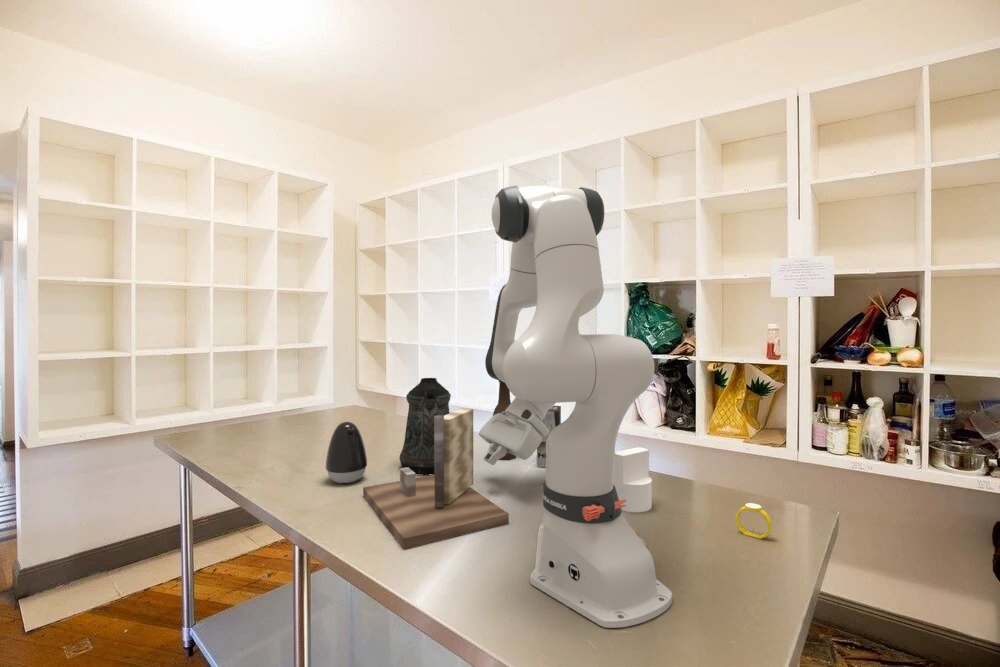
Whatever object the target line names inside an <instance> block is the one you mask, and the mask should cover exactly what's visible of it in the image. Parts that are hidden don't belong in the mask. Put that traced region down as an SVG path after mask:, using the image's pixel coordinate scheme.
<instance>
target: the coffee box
mask: <svg viewBox="0 0 1000 667" xmlns="http://www.w3.org/2000/svg"><path fill="white" fill-rule="evenodd" d="M561 416H562V406H561V405H554V406H553V407H552V408H550V409H549V410H548V411H547V413H546V415H545V418H544V419H543V421H542V422H543V424H544V425H545V426H546V427H547V428H548V430H549V433H548V435H547V436H546V437H542V441H541V443H540V445H539V446H538V448H537V449H536V467H537V468H546V441H547V438H548V436H549V434H550V432H551V431H552V430H553V429H554V428H555V427H556V426H558V425H559V424H561V423H562V417H561Z"/></svg>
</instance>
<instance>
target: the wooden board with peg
mask: <svg viewBox="0 0 1000 667" xmlns="http://www.w3.org/2000/svg"><path fill="white" fill-rule="evenodd" d="M416 476H417V475H416V473H415V472H413V471H412V470H411V469H410V468H408V467H407V468H402V467H401V468H399V480H396V481H391V482H385V483H379V484H375V485H369V486H368V485H367V486H363V487H362V488H363V489H362V493H363V494H362V496H363V495H364V496H363V497H364V499H365V498H366V499H365V500H366V501H367V502H369V503H368V504H369V505H370V507H371V506H372V507H373V508H372V507H371V508H372V509H373V511H374V510H375V511H374V512H375V513H376V515H377V514H378V515H377V516H378V517H379V519H380V520H381V521H382V522H383V524H384V525H385V526H386V527H388V528H387V529H388V530H389V531H390V533H391V535H393V537H394V538H395V539H396V541H397V542H398V543H399V545H400V546H401V547H402V549H403V550H407V549H412V548H417V547H419V546H423V545H422V544H424V545H428V544H431V543H430V542H432V543H435V541H436V542H439V540H440V541H443V540H442V539H444V540H447V539H446V538H448V539H451V538H450V537H452V538H454V537H453V536H456V537H459V536H458V535H460V536H463V535H462V534H464V535H466V534H465V533H468V534H471V533H470V532H472V533H475V532H474V531H476V532H479V531H478V530H480V531H483V530H482V529H484V530H487V529H486V528H488V529H492V528H496V527H500V526H503V525H508V524H509V522H510V517H509V513H508V512H507V511H506V510H504V509H503V508H501V507H500V506H498V505H497V504H495V503H494V502H492V501H491V500H490V499H488V498H487V497H486V496H484V495H482V494H481V493H479V491H476V489H474V488H473V487H472V486H471V487H470V488H468V489H467V490H466V491H465V492H463V493H462V494H461V495H460V496H459V497H457V498H456V499H455V500H454V501H453V502H451V503H450V504H444V507H442V508H436V507H435V475H425V476H421V477H416ZM491 527H492V528H491ZM427 543H428V544H427Z"/></svg>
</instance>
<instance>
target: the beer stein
mask: <svg viewBox="0 0 1000 667" xmlns="http://www.w3.org/2000/svg"><path fill="white" fill-rule="evenodd" d="M405 397H406V401H407V403H408V413H407V416H406V417H407V419H406V426H405V434H404V441H403V446H402V450H401V452H400V454H399V461H400V466H401V468H407V467H408V468H410V469H411V470H412V471H413V472H415V473H416V474H420V475H419V476H430V475H429V474H434V416H436V415H443V416H445V415H447V414H449V413H451V411H450V406H449V404H450V401H451V397H452V395H451V393H450V391H449V390H448V389H446V388H445V387H444V386H443V385H442V384H441V383H440V382H438V380H437V378H436V377H422V378H421V379H420V382H419V383H418V384H416V386H414V387H413V388H412V389H410V391H409V392H408V393H407V394H406V396H405ZM421 474H423V475H421Z"/></svg>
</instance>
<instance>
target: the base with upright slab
mask: <svg viewBox="0 0 1000 667" xmlns="http://www.w3.org/2000/svg"><path fill="white" fill-rule="evenodd" d="M649 474H650V450H649V449H647V448H644V447H641V446H640V447H633V448H628V449H623V450H620V451H616V452H615V453H614V473H613V484H614V486H615V488H616V491H617V494H618V498H619V501H620V500H624V499H625V500H626V502H624V503H623V504H620V505H626V506H625V507H621V509H622V512H627V513H644V512H649V511H650V510H652V507H653V506H652V502H653V498H652V497H653V491H652V490H653V480H652V478H651V477H650V475H649Z"/></svg>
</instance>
